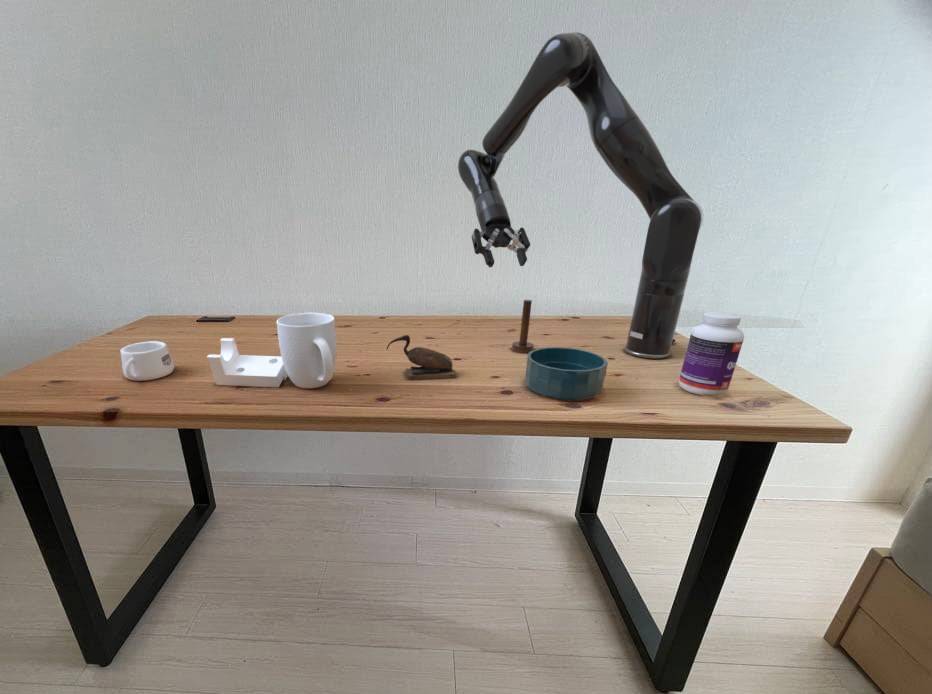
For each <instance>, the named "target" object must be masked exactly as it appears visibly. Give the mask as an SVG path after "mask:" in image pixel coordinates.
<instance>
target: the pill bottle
mask: <svg viewBox="0 0 932 694" xmlns="http://www.w3.org/2000/svg"><path fill="white" fill-rule="evenodd" d="M741 319H742V316H741V315H740V314H737V313H732V312H726V311H715V310H714V311H705V312H704V313H703V316H702V323H701V324H698V325H695V326H693V328H692V330H691V332H690V335H689V339H688V343H687V347H686V351H685V355H684V358H683V363H682V365H681V370H680V374H679V378H678V380H677V381H678V385H679V387H680V388H681V389H682V390H684V391H686V392H688V393H691V394H695V395H699V396H705V397H719V396H723V395H724V394H727V392H728V391H729V388H730V387H731V386H730V385H731V382H732V378H733V375H734V372H735V369H736V365H737V363H738V359H739V356H740V353H741V350H742V346H743V343H744V339H745V333H744V332H743V331H742V330H741V329H740V328H739V327H738V326H739V325H740V323H741Z"/></svg>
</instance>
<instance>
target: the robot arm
mask: <svg viewBox="0 0 932 694" xmlns="http://www.w3.org/2000/svg"><path fill="white" fill-rule="evenodd" d="M563 87H566V88H567V89H569V91H571V93H572V94H573V95H574V97H575V98H576V100H577V101H578V102H579V104H580V106H581V107H582V109H583V111H584V113H585V116H586V119H587V126H588V130H589V135H590V139H591V142H592V144H593V146H594V148H595V151H597V153H598V154H599V156H600V157H601V159H602V160H603V162H604V163H605V165H606V167H608V169H609V170H611V172H612V173H613V175H614V176H615V177H616V178H617V179H618V180H619V181H620V183H622V184H623V185H624V186H625V187H626V188H627V189H628V190H630V192H631V193H632V194H634V196H635V197H636V198H637V199H638V201H639V202H640V204H641V206H642V208H643V209H644V211H645V213H646V215H647V216H648V218H649V223H648V227H647V232H646V236H645V237H646V238H645V242H644V248H643V254H642V258H641V271H640V277H639V282H638V286H637V292H636V296H635V300H634V306H633V311H632V316H631V320H630V325H629V330H628V335H627V339H626V345H625V346H624V352H625V353H627V354H629V355H631V356H635V357H638V358H643V359H655V360H656V359H659V360H661V359H667V358H669V357H670V356H671V350H672V349H671V348H672V346H673V344H674V343H676V338H675V334H676V329H677V325H678V321H679V316H680V313H681V309H682V305H683V302H684V298H685V297H684V296H685V292H686V288H687V285H688V279H689V276H690V272H691V268H692V264H693V263H692V262H693V257H694V254H695V253H694V252H695V248H696V246H697V245H696V244H697V240H698V236H699V234H700V233H699V232H700V231H701V228H702V227H703V222H704V212H703V211H704V210H703V208H702V207H701V205H699V203H698V202H697V201H696V200H695V199H693V197H692V196H691V195H690V194H689V193H688V192H687V191H686V190H685V189H684V188H683V186H682V185H681V184H680V183H679V181H678V180H677V179H676V178H675V176H674V175H673V174H672V172H671V171H670V169H669V167H668V165H667V162H666V160H665V158H664V157H663V155H662V153H661V150H660V149H659V147H658V144H656V142H655V140H654V138H653V137H652V135H651V133H650V131H649V129H648V128H647V127H646V126H645V124H644V122H643V121H642V120H641V118H640V117H639V115H638V114H637V112H636V111H635V109H633V107H632V106H631V104H630V103H629V101H628V100H627V99H626V97H625V95H624V94H623V93H622V91H621V90H620V89H619V87H618V86H617V85H616V83H615V82H614V81H613V79H612V77H611V76H610V74H609V72H608V70H607V68H606V65H605V64H604V62H603V60H602V58H601V56H600V54H599V52H598V50H597V47H596V45H594V43H593V41H592V39H591V38H590V37H589V36H587V35H586V34H584V33H581V32H562V33H557V34H555V35H553V36H551V37H550V38H549V39H547V41H546V42H545V43H544V44H543V46H542V48H541V49H540V50H539V52H538V54H537V55H536V57H535V59H534V61H533V62H532V64H531V66H530V68H529V69H528V72H527V74H526V75H525V77H524V78H523V80H522V82H521V83H520V85H519V87H518V88H517V90H516V92H515V93H514V95H513V96H512V98H511V100H510V101H509V103H508V104H507V106H506V107H505V109H504V110H503V112H502V113H501V114H500V115H499V117H498V118H497V119H496V121H495V122H494V123H493V124H492V126H491V127H490V128H489V129H488V130H487V132H486V134H485V135H484V137H483V138H482V143H481V144H482V148H483V150H484V152H482V151H478V150H476V149H466V150H464V151H463V152H462V154H460V156H459V158H458V163H457V170H458V174H459V177H460V179H461V181H462V182H463V184H464V186H465V187H466V188H467V190H468V192H470V194H471V196H472V200H473V204H474V207H475V213H476V218H477V221H478V224H479V226H480V227H479V228H480V229H479V228H474V230H473V232H472V235H471V241H472V246H473V250H474V254H475V255H479V254H480V255H482V256H483V259H484V262H485V265H486V266H488V268H493V266H494V265H495V259H494V255H493V252H492V250H491V248H492V247H493V248H495V249H497V248H507V250H509V251H512V252H514V254H516V258H517V261H518V264H519V267H524V266H525V264H526V263H527V262H528V257H527V254H526V253H527V252H528V250H529V248H530V247H531V241H530V239H529V237H528V234H527V232H526V230H525V228H524V227H520V228H519V229H517V230H516V229H515V230H514V228H513V227H512V223H511V219H510V215H509V212H508V209H507V206H506V202H505V200H504V197H503V196H502V194H501V192H500V191H501V190H500V188H499V184H498V183H497V180H496V179H495V176H496V174H497V172H498V170H499V168H500V166H501V163H502V162H503V160H504V158H505V156H506V154H507V153H509V151H510V150H511V148H512V147H513V146H514V145H515V144H516V143H517V141H518V140H520V138H521V136H522V135H523V134H524V132H525V130H526V129H527V126H528V125H529V121H530V120H531V117H532V115H533V114H534V112H535V110H536V109H537V108H538V107H539V105H540V104H541V103H542V102H543V101H544V100H545V98H547V96H549V95H550V94H551V93H552V92H553V91H554V90H556V89H557V88H563ZM482 239H483V240H484V241H485V242H487V243H486V244H485V245H483V241H482ZM511 241H512V243H511ZM674 338H675V339H674Z"/></svg>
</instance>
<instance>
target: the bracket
mask: <svg viewBox="0 0 932 694" xmlns="http://www.w3.org/2000/svg"><path fill="white" fill-rule="evenodd" d="M219 342H220V354H208V355H207V356H206V360H207V363H208V365H209V368H210V371H211V374H212V376H213V378H214V382H215V385H217V386H235V387H236V386H237V387H258V388H259V387H260V388H261V387H262V388H264V387H265V388H280V386H281V384H282V382H283V381H284V382H285V381H287V378H288V377H289V376H288V374H287V371H286V369H285V367H284V364H283V361H282V357H281V355H280V356H279V355H278V356H277V355H249V354H248V355H247V354H240V353H239V350H238V346H237V343H236V340H235V338H232V337H222V338H221V339H219Z"/></svg>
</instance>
